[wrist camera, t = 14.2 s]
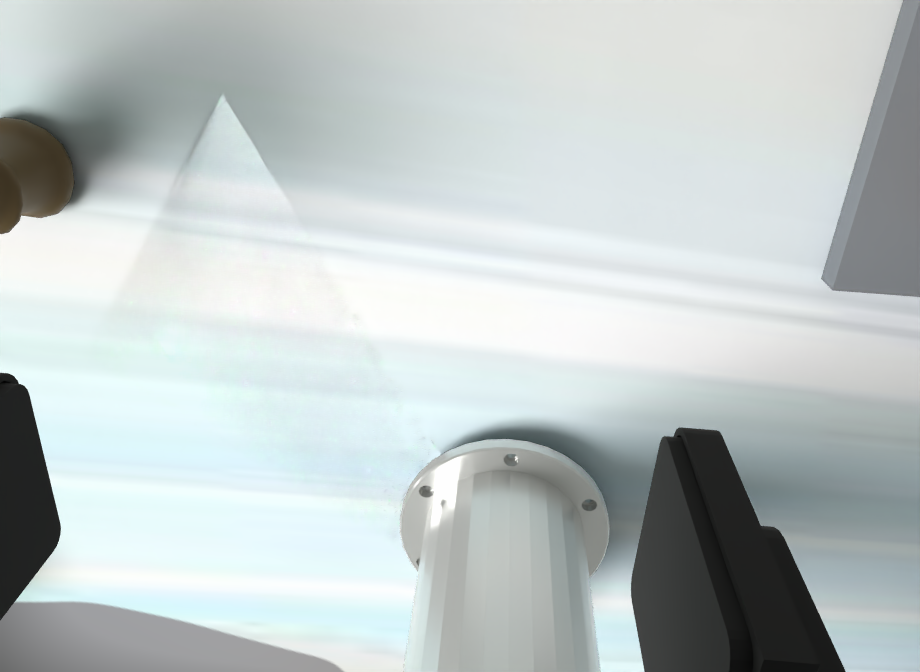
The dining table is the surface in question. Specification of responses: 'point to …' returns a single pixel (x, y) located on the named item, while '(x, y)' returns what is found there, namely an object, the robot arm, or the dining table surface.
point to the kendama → (31, 173)
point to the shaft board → (885, 181)
